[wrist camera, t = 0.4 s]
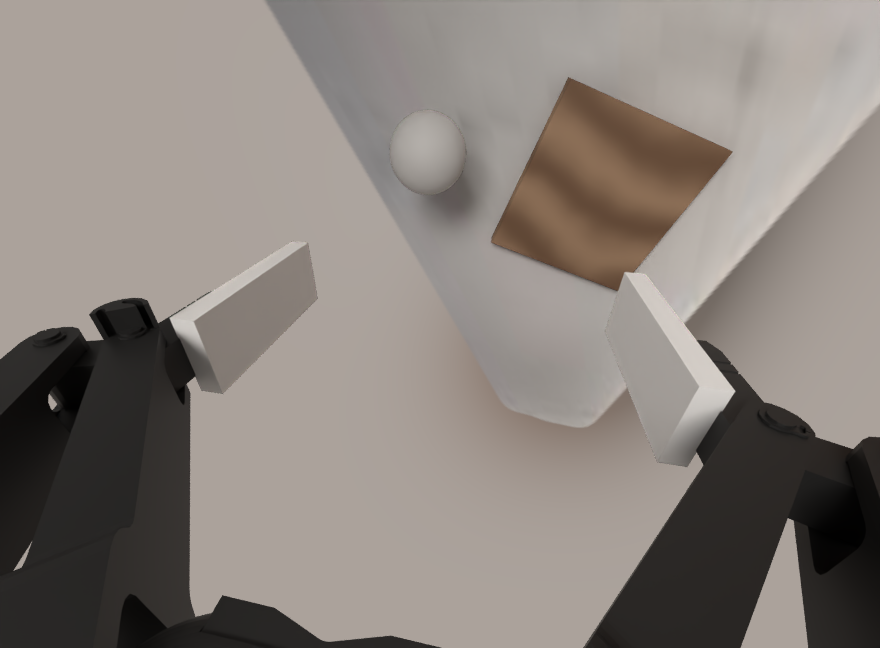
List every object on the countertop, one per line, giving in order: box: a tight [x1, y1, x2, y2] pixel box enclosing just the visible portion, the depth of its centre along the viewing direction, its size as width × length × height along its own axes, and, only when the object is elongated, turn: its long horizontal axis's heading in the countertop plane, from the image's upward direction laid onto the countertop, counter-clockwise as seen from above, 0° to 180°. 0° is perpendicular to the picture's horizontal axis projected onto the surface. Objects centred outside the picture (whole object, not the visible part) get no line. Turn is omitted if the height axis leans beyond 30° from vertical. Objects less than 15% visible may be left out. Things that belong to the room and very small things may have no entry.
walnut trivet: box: [491, 77, 732, 291], centre depth 36 cm, size 16×16×1 cm
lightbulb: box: [390, 110, 466, 195], centre depth 30 cm, size 6×6×11 cm
